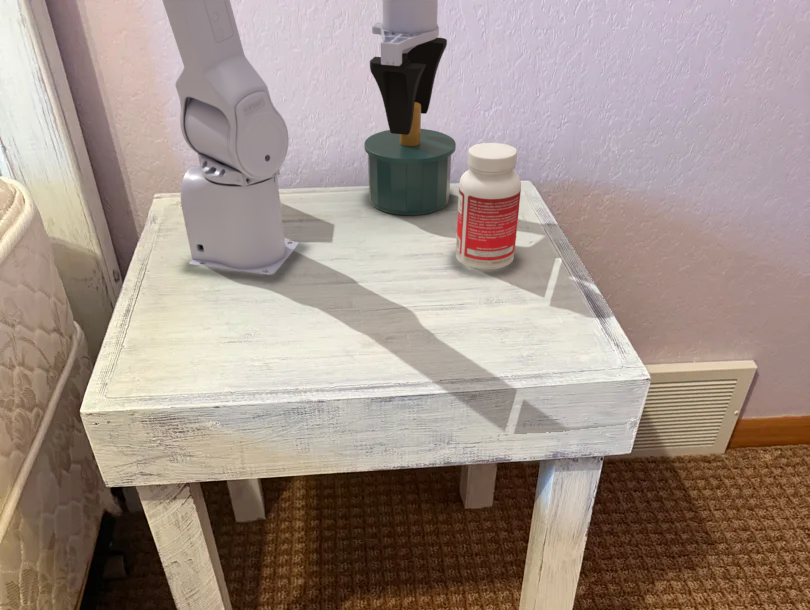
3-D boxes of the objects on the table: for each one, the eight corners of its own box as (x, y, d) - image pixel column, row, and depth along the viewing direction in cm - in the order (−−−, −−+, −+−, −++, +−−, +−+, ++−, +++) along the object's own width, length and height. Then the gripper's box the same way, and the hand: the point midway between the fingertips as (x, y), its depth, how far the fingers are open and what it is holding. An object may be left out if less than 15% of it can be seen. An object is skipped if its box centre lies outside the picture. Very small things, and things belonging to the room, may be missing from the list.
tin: (359, 210, 90) (357, 157, 86) (382, 181, 97) (381, 130, 93) (438, 219, 88) (440, 165, 84) (456, 188, 95) (458, 137, 91)
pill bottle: (525, 264, 80) (538, 153, 72) (479, 279, 78) (487, 166, 70) (489, 243, 84) (497, 135, 76) (443, 257, 82) (448, 146, 74)
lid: (456, 170, 85) (459, 120, 81) (362, 169, 85) (360, 119, 82) (454, 138, 92) (456, 91, 89) (367, 137, 93) (365, 90, 89)
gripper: (392, -39, 83) (394, 100, 92) (349, -14, 73) (355, 139, 82) (456, -36, 81) (450, 105, 91) (420, -10, 71) (418, 145, 81)
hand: (409, 122), depth 87 cm, fingers open, 7 cm apart
